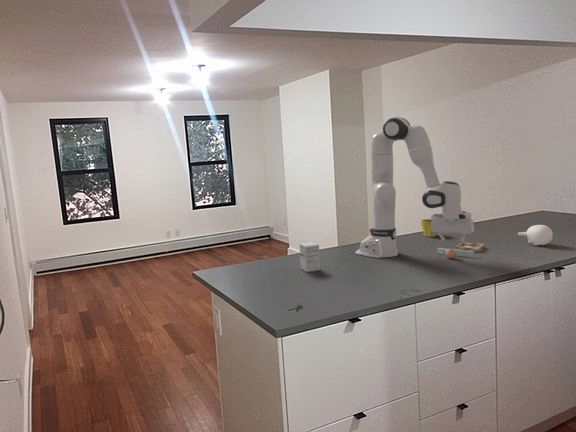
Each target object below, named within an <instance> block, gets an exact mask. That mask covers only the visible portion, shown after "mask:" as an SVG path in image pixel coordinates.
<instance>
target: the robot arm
mask: <svg viewBox="0 0 576 432" xmlns="http://www.w3.org/2000/svg"><path fill="white" fill-rule="evenodd" d="M409 122H410V121H408V120H407V119H406V118H403V117H400V116H395V117H391V118H388V119H387V120H386V121H385V122H384V123H383V127H382V131H379V132H376V133H375V134H373V136H372V137H371V144H370V161H371V163H370V164H371V188H372V189H371V191H372V195H373V210H372V211H373V213H372V216H373V217H372V218H373V220H372V221H373V227H372V228H370V229H369V230H368V233H370V235H368V236H367V237H365V238H364V239H362V241H361V242H360V245H359V249H357V250H356V251H355V255H358V256H365V257H370V258H376V259H380V258H391V257H392V258H393V257H396V256H398V255H399V251H398V248H397V244H396V243H397V240H396V238H397V230H396V222H395V221H396V217H395V215H396V201H397V200H396V197H397V195H396V193H397V192H396V191H397V189H396V188H395V186H394V152H393V151H394V149H393V147H394V146H393V145H394V142H396V141H404V142H405V144H406V148H407V150H408V155H409V157H410V160H411V162H412V164H413V165H415V166H416V167H417V168H418V169H420V171H421V173H422V174H423V178H424V181H425V184H426V191H425V192H424V193H423V194H422V197H421V201H422V204H423V205H424V206H425V207H426V208H427V209H436V208H440V207H441V208H442V212H441V213H434V214H432V215H431V217H430V219H431V221H432V226H431V230H432V232H436V233H438V235H439V238H440V241H441V242H445V241H446V238H445V237H444V236H443V233H444V234H460V235H461V236H462V237H461V238H460V239H459V241H460V242H459V243H464V242H465V238H466V237H467V235H472V234H473V233H474V231H475V225H474V224H475V223H474V221H473V218H472V213H471V212H468V211H466V210H463V209H462V206H461V201H462V193H461V191H462V190H461V187H460V184H459V183H457V182H454V181H449V180H445V181H443V182H442V183H440V181H439V177H438V175H437V171H436V166H435V163H434V162H435V161H434V153H433V150H432V149H433V148H432V144H431V141H430V138H429V136H428V134H427V130H426V129H425V128H424V127H423V126H422V125H413V126H411V124H410V123H409Z"/></svg>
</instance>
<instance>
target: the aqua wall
mask: <svg viewBox="0 0 576 432" xmlns="http://www.w3.org/2000/svg"><path fill="white" fill-rule="evenodd" d="M448 249H449V248H443V247H437V249H436V254H437V255H442V256H443V255H445V256H446V251H447V250H448ZM454 250H455V252H456V256H455V257H462V258H463V257H464V258H472V259H473V258H474V253H475V252H474V251H465V250H456V249H454Z"/></svg>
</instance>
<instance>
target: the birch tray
mask: <svg viewBox="0 0 576 432" xmlns="http://www.w3.org/2000/svg"><path fill="white" fill-rule="evenodd" d="M485 248H486V243H478V242H477V243H475V242H466V241H464V243H461V242H459V244H458V245H456V246H455V250H465V251H474V253H477V254H478V253H479V254H480V253H481V252H482V251H483V250H485Z"/></svg>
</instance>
